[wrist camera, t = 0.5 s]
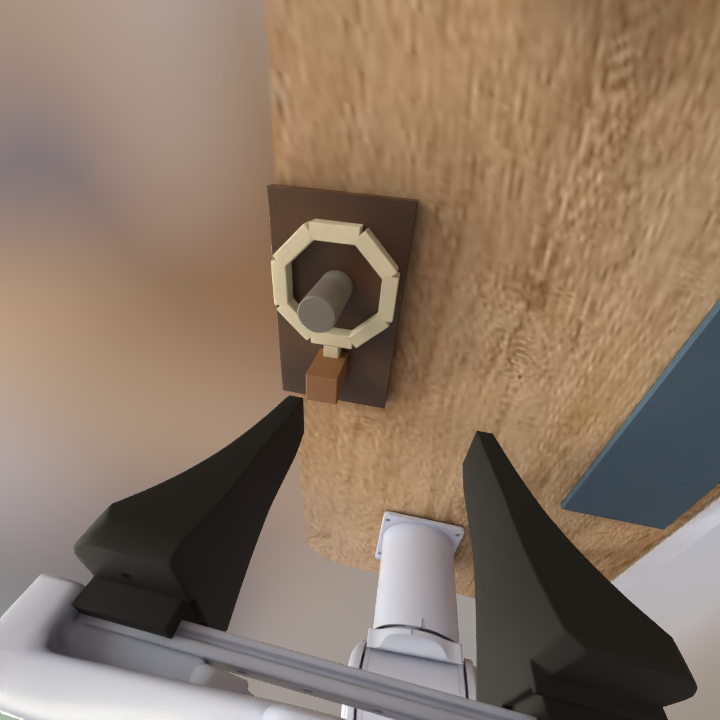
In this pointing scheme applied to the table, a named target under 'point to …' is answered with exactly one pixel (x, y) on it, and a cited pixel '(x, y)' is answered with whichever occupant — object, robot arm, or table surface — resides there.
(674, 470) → the mat
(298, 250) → the octagonal ring with handle
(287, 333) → the peg stand
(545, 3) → the table surface
